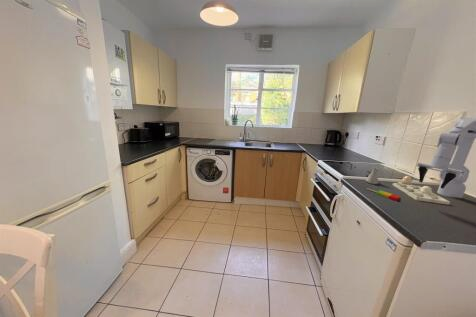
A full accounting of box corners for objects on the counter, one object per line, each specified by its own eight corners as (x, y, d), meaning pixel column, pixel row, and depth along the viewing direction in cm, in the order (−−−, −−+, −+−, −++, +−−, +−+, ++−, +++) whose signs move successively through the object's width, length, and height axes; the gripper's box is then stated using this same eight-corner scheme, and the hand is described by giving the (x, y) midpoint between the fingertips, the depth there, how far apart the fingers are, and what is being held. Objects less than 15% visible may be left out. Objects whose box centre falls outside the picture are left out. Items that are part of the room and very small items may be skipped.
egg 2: (426, 193, 106) (429, 185, 104) (432, 197, 101) (435, 188, 100) (417, 192, 106) (420, 184, 105) (422, 195, 102) (426, 187, 101)
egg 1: (407, 183, 122) (409, 175, 120) (412, 185, 117) (414, 177, 116) (399, 182, 122) (402, 174, 121) (404, 184, 118) (406, 176, 117)
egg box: (418, 189, 113) (419, 186, 113) (448, 205, 93) (450, 201, 93) (391, 186, 116) (392, 182, 115) (416, 201, 96) (417, 197, 95)
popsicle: (396, 202, 94) (397, 198, 93) (364, 190, 106) (364, 187, 105) (400, 200, 97) (401, 196, 96) (368, 189, 109) (369, 186, 108)
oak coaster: (408, 183, 123) (408, 182, 123) (416, 188, 116) (417, 187, 115) (394, 181, 125) (395, 180, 124) (402, 186, 117) (402, 185, 117)
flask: (381, 185, 115) (385, 170, 113) (368, 183, 116) (372, 168, 114) (375, 181, 122) (379, 167, 120) (363, 180, 123) (366, 165, 121)
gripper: (419, 153, 91) (409, 179, 94) (463, 161, 79) (450, 190, 81) (424, 155, 95) (414, 180, 97) (467, 163, 83) (454, 191, 85)
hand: (430, 185), depth 89 cm, fingers open, 7 cm apart
